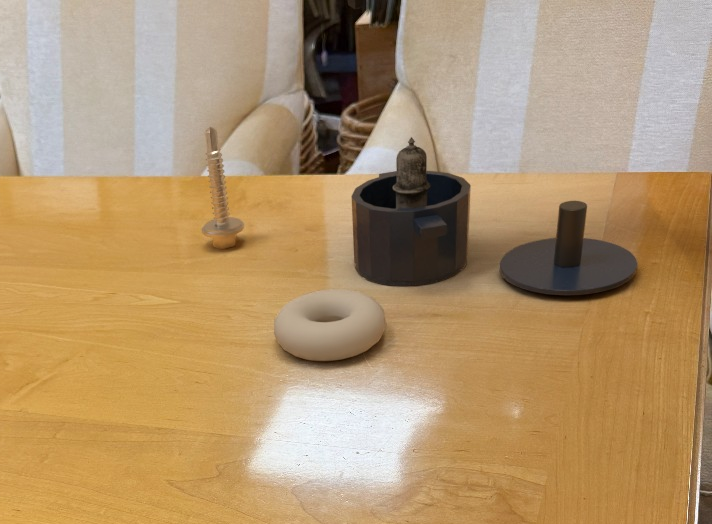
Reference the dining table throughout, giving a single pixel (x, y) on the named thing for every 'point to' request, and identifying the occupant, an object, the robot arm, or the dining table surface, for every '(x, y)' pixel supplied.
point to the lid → (568, 259)
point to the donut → (329, 324)
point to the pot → (411, 231)
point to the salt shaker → (411, 177)
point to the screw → (219, 198)
